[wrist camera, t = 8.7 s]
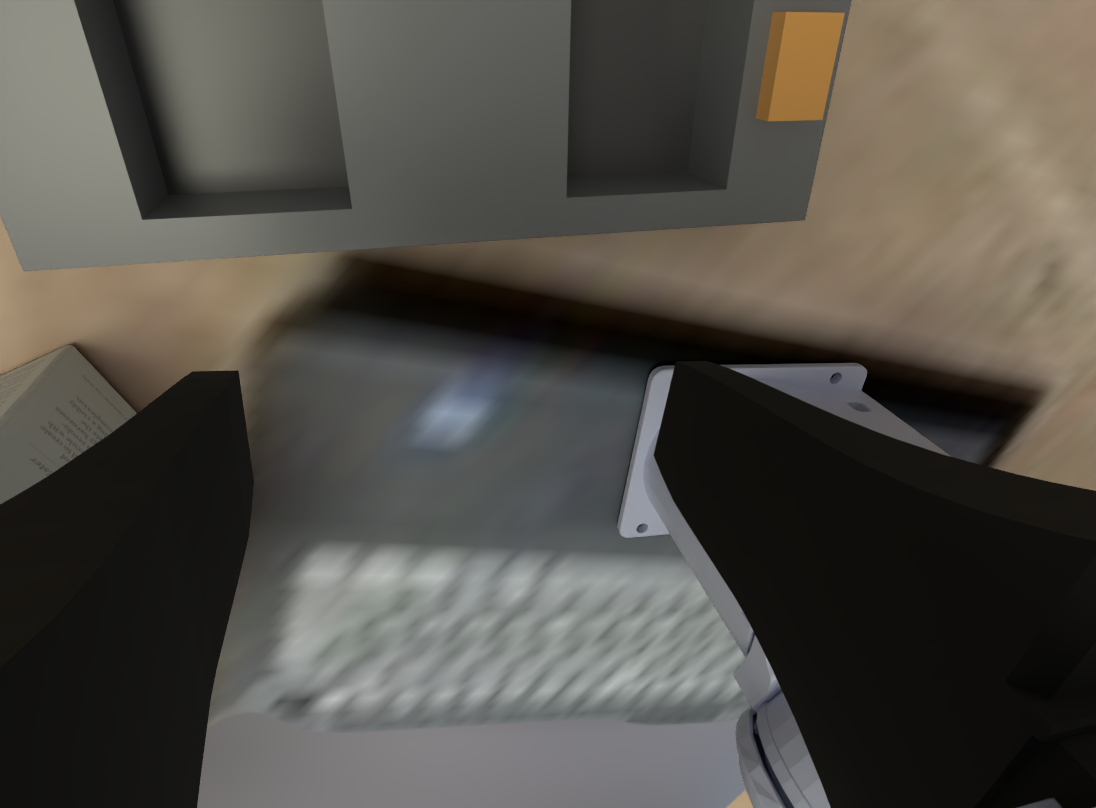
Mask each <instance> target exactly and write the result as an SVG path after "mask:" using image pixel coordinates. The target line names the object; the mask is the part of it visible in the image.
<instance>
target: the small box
mask: <svg viewBox="0 0 1096 808" xmlns="http://www.w3.org/2000/svg"><path fill="white" fill-rule="evenodd" d="M136 414H137V413H136V412H135V411H134V410H133V409H132V407H131V406H130V405H129V404H128V403H127V402H126V401H125V400H124V399H123V398H122V397H121V396H120V395H119V394H118V393H117V392H116V391H115V390H114V389H113V388H112V387H111V385H110V384H109V383H108V382H107V381H106V380H105V379H104V378H103V377H102V376H101V375H100V374H99V372H98V371H97V370H96V369H95V368H94V367H93V366H92V365H91V364H90V363H89V362H88V361H87V360H86V359H85V358H84V357H83V356H82V355H81V353H80V352H79V351H78V350H77V349H76V348H75V347H73V346H72V345H67V346H64V347H62V348H60V349H58V350H56V351H54V352H52V353H50V354H47V355H45V356H43V357H40V358H38V359H36V360H34V361H32V362H30V363H28V364H26V365H23V366H21V367H19V368H16V369H14V370H12V371H10V372H8V373H6V374H4V375H2V376H0V504H2V503H3V502H5V501H7V500H9V499H11V498H12V497H14V496H16V495H17V494H19V493H21V492H22V491H24V490H26V489H28V488H29V487H31V486H33V485H34V484H36V483H37V482H39V481H41V480H42V479H44V478H46V477H47V476H49V475H50V474H52V473H53V472H55V471H56V470H58V469H59V468H61V467H62V466H64V465H65V464H67V463H68V462H70V461H71V460H73V459H74V458H75V457H77V456H78V455H80V454H81V453H83V452H84V451H86V450H87V449H89V448H90V447H92V446H93V445H95V444H96V443H98V442H99V441H101V440H102V439H104V438H105V437H107V436H108V435H109V434H111V433H112V432H113V431H115V430H116V429H117V428H119V427H120V426H121V425H123V424H124V423H125V422H127V421H128V420H129V419H131V418H132V417H133V416H135V415H136Z"/></svg>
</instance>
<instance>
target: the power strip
mask: <svg viewBox="0 0 1096 808" xmlns="http://www.w3.org/2000/svg"><path fill="white" fill-rule="evenodd" d="M850 5H851V0H0V217H1V219H2V221H3V224H4V226H5V229H6V231H7V233H8V236H9V238H10V240H11V243H12V245H13V247H14V250H15V252H16V255H17V257H18V259H19V262H20V264H21V266H22V269H23V271H38V270H53V269H69V268H84V267H99V266H114V265H130V264H145V263H160V262H175V261H191V260H206V259H221V258H236V257H252V256H267V255H282V254H297V253H313V252H328V251H343V250H358V249H374V248H389V247H404V246H419V245H435V244H450V243H465V242H480V241H496V240H511V239H526V238H541V237H557V236H572V235H587V234H602V233H618V232H633V231H648V230H663V229H679V228H694V227H709V226H724V225H740V224H755V223H770V222H785V221H801V220H805V217H806V212H807V208H808V203H809V198H810V193H811V189H812V184H813V179H814V175H815V170H816V165H817V160H818V156H819V151H820V146H821V142H822V137H823V132H824V127H825V123H826V118H827V113H828V108H829V104H830V99H831V94H832V90H833V85H834V80H835V75H836V71H837V66H838V61H839V57H840V52H841V47H842V42H843V38H844V33H845V28H846V24H847V19H848V14H849V9H850Z"/></svg>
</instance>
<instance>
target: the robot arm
mask: <svg viewBox="0 0 1096 808" xmlns="http://www.w3.org/2000/svg"><path fill="white" fill-rule="evenodd" d="M835 373H836V374H835ZM833 374H835V375H834V377H832V375H833ZM866 376H867V370H866V369H865V368H864V367H863V366H862V365H860V364H858V363H814V364H746V365H718V364H715V363H711V362H708V361H682V362H676V363H675V366H660V367H657V368H655V369H654V370H653V371H652V372H651V373H650V375H649V378H648V383H647V387H646V392H645V397H644V401H643V406H642V411H641V416H640V420H639V425H638V430H637V434H636V439H635V444H634V449H633V453H632V458H631V463H630V467H629V472H628V477H627V482H626V486H625V491H624V496H623V501H622V505H621V510H620V515H619V519H618V524H617V528H618V530H619V532H620V534H621V536H623V537H626V538H631V537H642V536H652V535H663V534H670V535H671V537H672V538H673V540H674V542H675V543H676V545H677V546H678V548H679V550H680V551H681V553H682V555H683V556H684V558H685V559H686V561H687V563H688V564H689V566H690V568H691V569H692V571H693V573H694V574H695V576H696V577H697V579H698V581H699V582H700V584H701V586H702V587H703V589H704V590H705V592H706V594H707V595H708V597H709V599H710V600H711V602H712V603H713V605H714V607H715V608H716V610H717V612H718V613H719V615H720V617H721V618H722V620H723V621H724V623H725V625H726V626H727V628H728V630H729V631H730V633H731V634H732V636H733V638H734V639H735V641H736V643H737V644H738V646H739V648H740V649H741V651H742V652H743V654H744V656H745V657H746V658H745V660H744V661H743V662H742V664H741V665H740V666H739V667H738V668H737V669H736V670H735V671H734V672H733V676H734V677H735V679H736V681H737V683H738V684H739V686H740V688H741V689H742V691H743V693H744V695H745V696H746V698H747V700H748V702H749V703H750V705H751V707H750V708H748V709H747V710H746V711H745V712H744V713H742V714H741V716H740V718H739V720H738V722H737V726H736V742H737V750H738V754H739V765H740V771H741V775H742V778H743V782H744V785H745V788H746V791H747V793H748V796H749V798H750V801H751V803H752V805H753V807H754V808H1096V491H1093V490H1088V489H1082V488H1077V487H1072V486H1067V485H1062V484H1057V483H1052V482H1048V481H1043V480H1039V479H1034V478H1030V477H1026V476H1021V475H1017V474H1013V473H1009V472H1005V471H1001V470H998V469H994V468H990V467H986V466H982V465H979V464H975V463H971V462H967V461H964V460H960V459H957V458H954V457H951V456H950V455H949V454H947V453H946V452H944V451H943V450H942V449H940V448H939V447H938V446H936V445H935V444H934V443H932V442H931V441H929V440H928V439H927V438H925V437H924V436H923V435H921V434H920V433H919V432H917V431H916V430H914V429H913V428H912V427H910V426H909V425H908V424H906V423H905V422H904V421H902V420H901V419H900V418H898V417H897V416H895V415H894V414H893V413H891V412H890V411H889V410H887V409H886V408H885V407H883V406H882V405H880V404H879V403H878V402H876V401H875V400H874V399H872V398H871V397H870V396H868V395H867V394H865V393H864V392H863V391H861V389H862V387H863V384H864V382H865V379H866ZM831 377H832V378H831ZM830 378H831V379H830ZM670 382H671V383H670ZM253 485H254V480H253V473H252V466H251V459H250V451H249V444H248V437H247V430H246V423H245V415H244V408H243V401H242V394H241V387H240V379H239V372H238V371H198V372H191V373H190V374H188V375H187V376H185V377H184V378H182V379H181V380H180V381H178V382H177V383H176V384H175V385H173V386H172V387H171V388H169V389H168V390H167V391H166V392H164V393H163V394H162V395H160V396H159V397H158V398H157V399H155V400H154V401H153V402H152V403H150V404H149V405H148V406H146V407H145V408H144V409H142V410H141V411H140V412H138V413H137V414H136V415H135V416H133V417H132V418H131V419H129V420H128V421H127V422H125V423H124V424H123V425H121V426H120V427H119V428H117V429H116V430H115V431H113V432H112V433H111V434H109V435H108V436H107V437H105V438H104V439H102V440H101V441H99V442H98V443H96V444H95V445H93V446H92V447H90V448H89V449H87V450H86V451H84V452H83V453H81V454H80V455H78V456H77V457H75V458H74V459H73V460H71V461H70V462H68V463H67V464H65V465H64V466H62V467H61V468H59V469H58V470H56V471H55V472H53V473H52V474H50V475H49V476H47V477H46V478H44V479H42V480H41V481H39V482H37V483H36V484H34V485H33V486H31V487H29V488H28V489H26V490H24V491H22V492H21V493H19V494H17V495H16V496H14V497H12V498H11V499H9V500H7V501H5V502H3V503H2V504H0V808H197V802H198V794H199V785H200V777H201V768H202V761H203V753H204V746H205V738H206V730H207V723H208V715H209V707H210V700H211V695H212V689H213V684H214V679H215V674H216V669H217V665H218V661H219V657H220V653H221V649H222V644H223V640H224V636H225V632H226V628H227V624H228V620H229V616H230V612H231V608H232V604H233V600H234V596H235V592H236V588H237V584H238V579H239V575H240V571H241V567H242V563H243V559H244V554H245V550H246V546H247V541H248V537H249V527H250V518H251V508H252V496H253ZM643 523H644V524H643ZM640 524H643V525H642V526H640V527H638V526H639V525H640Z"/></svg>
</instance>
